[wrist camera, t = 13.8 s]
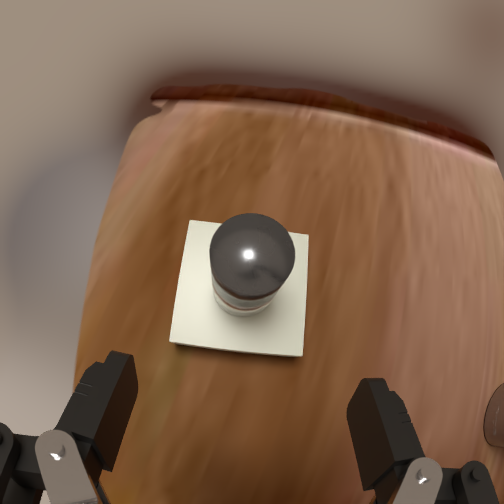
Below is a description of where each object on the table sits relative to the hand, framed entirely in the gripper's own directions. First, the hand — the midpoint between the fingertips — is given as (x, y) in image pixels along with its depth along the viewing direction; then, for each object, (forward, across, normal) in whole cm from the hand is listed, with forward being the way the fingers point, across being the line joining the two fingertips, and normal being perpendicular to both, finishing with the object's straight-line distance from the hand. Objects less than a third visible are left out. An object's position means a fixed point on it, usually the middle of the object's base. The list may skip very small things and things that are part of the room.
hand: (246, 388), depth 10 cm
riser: (+18, 0, +7) cm, 19 cm away
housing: (+15, 0, +5) cm, 16 cm away
